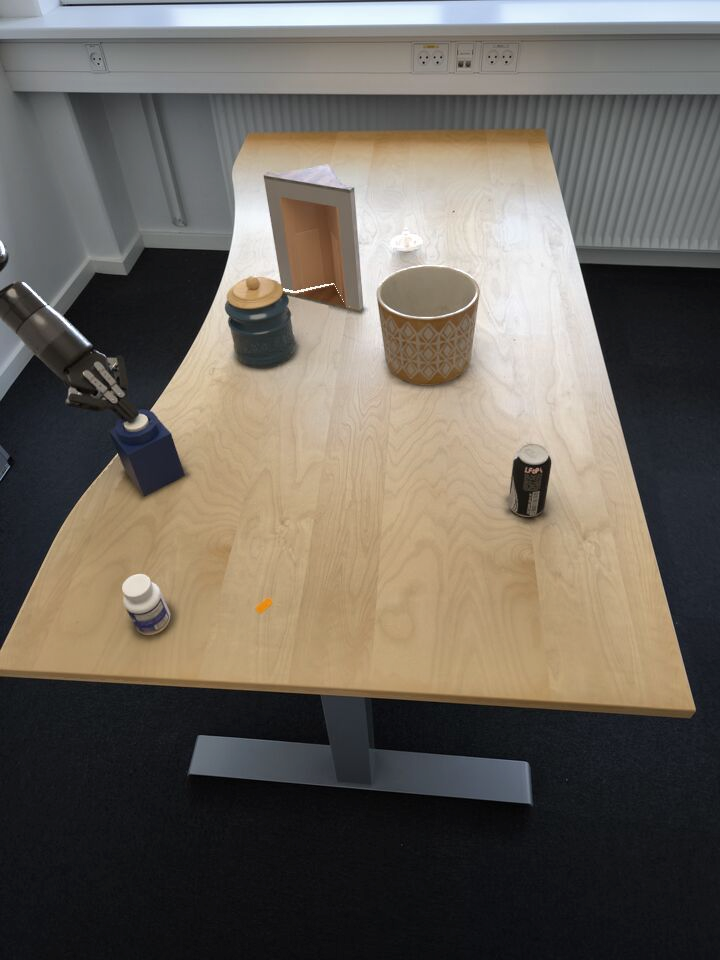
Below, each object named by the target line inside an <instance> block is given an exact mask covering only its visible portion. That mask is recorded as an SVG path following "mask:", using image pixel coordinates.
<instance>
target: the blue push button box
mask: <svg viewBox="0 0 720 960" xmlns="http://www.w3.org/2000/svg"><path fill="white" fill-rule="evenodd" d="M137 412H138V413H139V414H143V415H145V416H147V418H148V421H149V425H148V426H147V427H146V428H144V429H142V430H140V431H136V432H129V431H126V429H125V427H124V421H123V420H122V419H121V418H119V419H118V420H117V421H116V423H115V427H113V428H111V429H109V430H108V433H109V436H110V438H111V441H112V443H113V445H114V448H115V449H116V450H115V451H116V452H117V455H118V457H119V460H120V462H121V465H122V467H123V469H124V472H125V474H126V475H127V476H128V478H129V479H130V480H131V481H132V483H133V484H134V486H136V488H137V489H138V491H139V492H140V494H141V495H142V496H143V497H146V496H148V495H150V494H152V493H154V492H155V491H158V490H160V489H161V488H163V487H165V486H167V485H169V484H172V483H173V482H175V481H177V480H179V479H181V478H183V477H185V476H186V474H185V471H184V468H183V465H182V461H181V459H180V455H179V453H178V450H177V447H176V444H175V441H174V438H173V435H172V432H170V431H169V430H170V429H168V428H167V427H166V426H165V425H164V424H163V423H162V421H161V420H160V419H159V418H158V416H157V415H156V414H155V412H154V411H152V410H148V409H138V411H137Z"/></svg>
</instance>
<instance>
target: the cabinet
mask: <svg viewBox="0 0 720 960" xmlns="http://www.w3.org/2000/svg"><path fill="white" fill-rule="evenodd" d="M263 181H264V182H263V183H264V188H265V193H266V199H267V206H268V212H269V213H268V214H269V219H270V224H271V225H270V226H271V230H272V236H273V237H272V238H273V244H274V250H275V256H276V261H277V268H278V273H279V280H280V284H281V286H282V288H285V289H289V290H293V291H297V290H301V289H306V288H310V287H315V286H320V285H324V284H331V283H334V284H335V285H334V284H333V285H329V286H325V287H321V288H316V289H312V290H308V291H304V292H299V293H290V292H285V291H284V292H285V293H286V294H287V296H288V297H292V298H296V299H301V300H305V301H309V302H314V303H317V304H321V305H325V306H330V307H333V308H338V309H341V310H346V311H351V312H354V313H357V314H358V313H360V314H361V313H362V312H363V311H364V299H363V284H362V271H361V258H360V246H359V233H358V232H359V231H358V219H357V218H358V217H357V205H356V195H355V194H356V193H355V186H352V185H346V184H343V183H342V182H341V181H340V179H339V177H338V176H337V175H336V174H335V172H334V171H333V169H332V168H331V167H330V165H329V164H328V163H326V164H320V165H315V166H311V167H306V168H301V169H295V170H292V171H287V172H282V173H274V172H266V173H265V174H263ZM335 286H336V287H335ZM336 288H337V289H336ZM337 290H338V291H337ZM338 292H339V293H338ZM340 295H341V296H340ZM342 299H343V300H342ZM343 301H344V302H343ZM349 306H350V307H349Z"/></svg>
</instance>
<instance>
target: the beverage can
mask: <svg viewBox="0 0 720 960" xmlns="http://www.w3.org/2000/svg"><path fill="white" fill-rule="evenodd" d="M511 468H512V469H511V475H510V476H511V477H510V487H509V497H508V506H509V508H510V510H511V511H512V512H513V513H515V514H516V515H518V516H521V517H526V518H529V517H530V518H531V517H532V518H533V517H536V516H538V515H540V514H541V513H542V512H543V511H544V509H545V506H546V500H547V494H548V487H549V481H550V476H551V475H550V474H551V470H552V458H551V456H550V454H549V451H548V449H547V448H546V447H545V446H543V445H542V444H539V443H534V442H532V443H526V444H523V445H521V446H520V447H519V449H518V451H517V452H516V453H515V454H514V456H513V460H512V467H511Z"/></svg>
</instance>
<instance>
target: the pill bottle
mask: <svg viewBox="0 0 720 960" xmlns="http://www.w3.org/2000/svg"><path fill="white" fill-rule="evenodd" d="M121 590H122V593H123V598H122V599H123V600H122V603H123V605H124V608H125V610H126V612H127V614H128V615H129V618H130V620H131V622H132V623H133V626H134V628H135V629H136V631H137V632H139V633H140V634H142V635H145V636H153V635H156V634H159V633H161V632H162V631H164V629H165V628H167V626H168V625H169V623H170V620H171V611H170V609H169V606H168V605H167V602H166V600H165V598H164V596H163V594H162V591H161V589H160V587H159V586H158V585H157V584H156V583H154V582H152V580H151V579H150V577H149V576H148V575H146V574H145V573H136V574H135V573H134V574H132V575H131V576H129V577H128V578H126V579H125V580H124V581H123V584H122V587H121Z"/></svg>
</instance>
